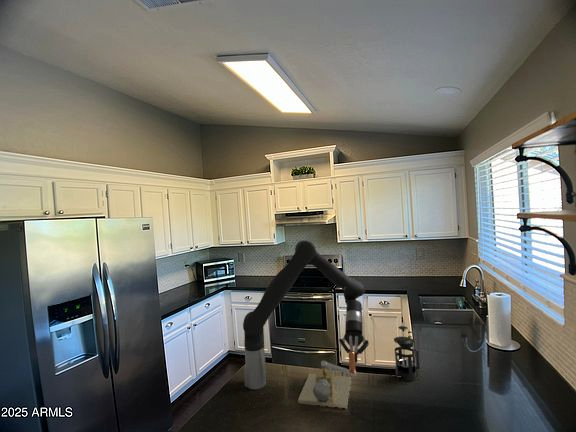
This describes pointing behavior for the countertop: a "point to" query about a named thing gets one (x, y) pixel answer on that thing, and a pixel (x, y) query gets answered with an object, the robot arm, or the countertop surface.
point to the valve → (326, 389)
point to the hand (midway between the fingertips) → (353, 363)
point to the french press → (406, 364)
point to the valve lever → (341, 369)
